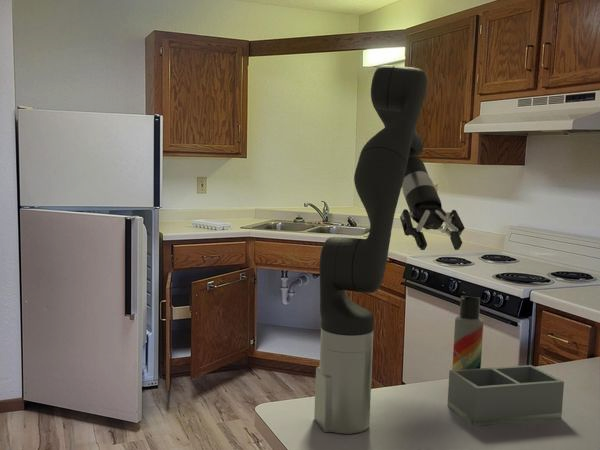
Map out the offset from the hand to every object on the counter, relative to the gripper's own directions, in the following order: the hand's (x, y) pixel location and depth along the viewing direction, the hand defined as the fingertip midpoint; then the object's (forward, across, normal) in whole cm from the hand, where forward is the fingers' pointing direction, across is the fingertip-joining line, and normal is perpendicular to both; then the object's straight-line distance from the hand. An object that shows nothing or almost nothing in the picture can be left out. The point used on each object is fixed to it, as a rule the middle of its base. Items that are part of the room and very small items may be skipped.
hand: (441, 247), depth 132 cm
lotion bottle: (+28, +1, +12) cm, 31 cm away
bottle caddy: (+37, +2, +3) cm, 37 cm away
